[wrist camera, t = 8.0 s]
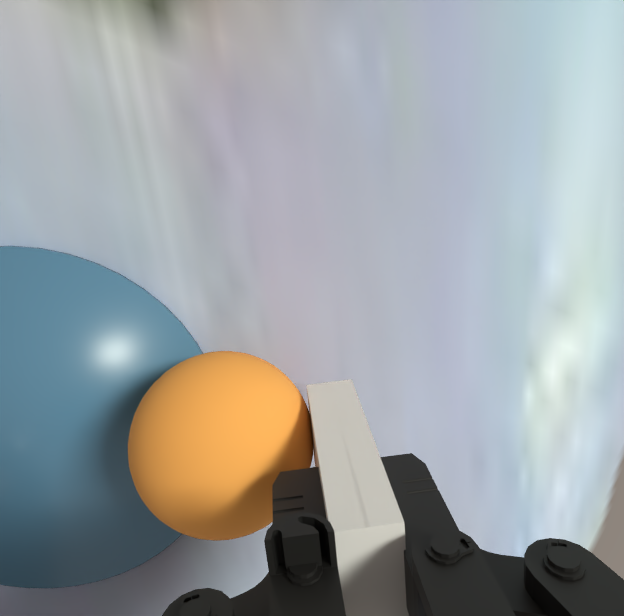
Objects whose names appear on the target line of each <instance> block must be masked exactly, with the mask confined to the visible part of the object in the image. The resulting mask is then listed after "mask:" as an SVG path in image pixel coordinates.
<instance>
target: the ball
mask: <svg viewBox="0 0 624 616" xmlns="http://www.w3.org/2000/svg"><path fill="white" fill-rule="evenodd" d="M312 456H313V434H312V426H311V418H310V414H309V411H308V408H307V406H306V403H305V401H304V399H303V397H302V396H301V394H300V392H299V391H298V389H297V388H296V387H295V385H294V384H293V383H292V382H291V380H290V379H289V378H288V377H287V376H286V375H285V374H284V373H283V372H281V371H280V370H279V369H278V368H276V367H275V366H274V365H272V364H270V363H268V362H267V361H265V360H262V359H260V358H258V357H255V356H253V355H249V354H246V353H240V352H232V351H217V352H209V353H204V354H200V355H197V356H194V357H191V358H189V359H186V360H184V361H182V362H180V363H179V364H177V365H175V366H174V367H172V368H171V369H169V370H168V371H166V372H165V373H164V374H163V375H162V376H161V377H160V378H159V379H158V380H157V381H155V382H154V383H153V385H152V386H151V387H150V389H149V390H148V391H147V392H146V394H145V395H144V397H143V398H142V400H141V402H140V404H139V406H138V408H137V410H136V412H135V415H134V417H133V420H132V424H131V427H130V433H129V439H128V461H129V468H130V472H131V476H132V479H133V482H134V485H135V487H136V490H137V492H138V494H139V496H140V497H141V499H142V501H143V502H144V503H145V505H146V506H147V507H148V509H149V510H150V511H151V512H152V513H153V514H154V515H155V516H156V517H157V518H158V519H159V520H160V521H162V522H163V523H164V524H166V525H168V526H169V527H171V528H172V529H174V530H176V531H178V532H180V533H182V534H185V535H187V536H191V537H194V538H198V539H205V540H216V541H217V540H229V539H235V538H239V537H243V536H246V535H249V534H252V533H254V532H256V531H258V530H260V529H262V528H264V527H266V526H267V525H269V524H270V523H271V522H273V505H272V502H273V500H272V485H273V483H274V482H275V480H276V478H277V476H278V475H279V473H280V472H282V471H290V470H298V469H306V468H310V466H311V461H312Z"/></svg>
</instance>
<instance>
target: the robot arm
mask: <svg viewBox="0 0 624 616" xmlns="http://www.w3.org/2000/svg"><path fill="white" fill-rule="evenodd" d="M307 394H308V403H309V412H310V418H311V426H312V434H313V450H314V459H315V466H316V467H313V468H306V469H298V470H290V471H282V472H280V473H279V475H278V476H277V478H276V480H275V482H274V483H273V485H272V500H273V502H272V505H273V524H272V526H271V527H270V528H269V529H268V530H267V533H266V537H265V540H264V541H265V548H266V555H267V562H268V568H269V572H268V574H267V575H266V577H265V578H264V579H263V580H262V581H261V582H260V583H259V584H258V585H256V586H255V587H254V588H252V589H250V590H249V591H247V592H245V593H243V594H240V595H238V596H236V597H233V598H231V599H230V598H229V597H228V596H226V595H225V594H224V593H223V592H222V591H219V590H215V589H211V588H206V589H196V590H193V591H191V592H188V593H186V594H184V595H182V596H180V597H179V598H178V599H176V600H175V601H174V602H173V603H171V604H170V605H169V607H168V608H167V609H166V611H165V612H164V613H163V615H162V616H624V580H623V579H622V578H621V577H620V576H618V575H617V574H616V573H615V572H614V571H612V570H611V569H610V568H609V567H608V566H607V565H605V564H604V563H603V562H602V561H601V560H599V559H598V558H597V557H596V556H595V555H593V554H592V553H591V552H589V551H588V550H586V549H585V548H583V547H581V546H580V545H578V544H575V543H572V542H569V541H566V540H562V539H552V538H549V539H543V540H537V541H536V542H534V543H533V544H531V545H530V546H528V548H527V550H526V553H525V555H524V558H523V557H514V556H506V555H499V554H494V553H490V552H487V551H484V550H482V549H479V547H478V545H477V544H476V543H475V542H474V541H473V539H472V538H471V537H469V536H468V535H466V534H464V533H463V532H461V531H459V529H458V527H457V525H456V523H455V521H454V519H453V518H452V516H451V514H450V512H449V510H448V508H447V506H446V504H445V502H444V500H443V498H442V496H441V494H440V492H439V490H438V489H437V486H436V484H435V482H434V480H432V476H431V474H430V472H429V470H428V468H427V466H426V464H425V463H424V462H422V461H421V460H420V459H418V458H417V457H416V456H414V455H413V454H412V453H411V454H403V455H395V456H387V457H380V455H379V452H378V450H377V447H376V444H375V441H374V439H373V436H372V433H371V431H370V428H369V425H368V423H367V420H366V417H365V414H364V412H363V409H362V406H361V404H360V401H359V398H358V396H357V393H356V390H355V387H354V385H353V382H352V379H351V380H343V381H335V382H326V383H318V384H310V385H307Z"/></svg>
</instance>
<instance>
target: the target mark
mask: <svg viewBox="0 0 624 616" xmlns="http://www.w3.org/2000/svg"><path fill="white" fill-rule="evenodd" d="M200 354H203V353H202V351H201V349H200V347H199V346H198V344H197V342H196V341H195V340H194V338H193V337H192V336H191V334H190V333H189V332H188V330H187V329H186V328H185V326H184V325H183V324H182V323H181V322H180V321H179V320H178V319H177V318H176V317H175V316H174V315H173V314H172V312H171V311H170V310H169V309H168V308H167V307H166V306H165V305H163V304H162V303H161V302H160V301H158V300H157V299H156V298H155V297H153V296H152V295H151V294H150V293H148V292H147V291H146V290H145V289H143V288H142V287H140V286H139V285H137V284H135V283H134V282H132V281H130V280H129V279H127V278H126V277H124V276H122V275H121V274H119V273H116V272H114V271H112V270H110V269H108V268H106V267H104V266H101V265H99V264H97V263H95V262H92V261H89V260H86V259H83V258H80V257H77V256H73V255H70V254H67V253H62V252H57V251H52V250H47V249H42V248H32V247H19V246H0V585H5V586H14V587H24V588H59V587H69V586H77V585H82V584H87V583H92V582H97V581H100V580H103V579H106V578H109V577H113V576H116V575H119V574H121V573H123V572H126V571H128V570H130V569H132V568H134V567H137V566H139V565H141V564H142V563H144V562H146V561H147V560H149V559H151V558H152V557H154V556H156V555H157V554H159V553H160V552H161V551H163V550H164V549H165V548H166V547H168V546H169V545H170V544H171V543H173V542H174V541H175V540H176V539H177V538H178V537H179V536H180V535H181V534H182V533H180V532H178V531H176V530H174V529H172V528H171V527H169V526H168V525H166V524H164V523H163V522H162V521H160V520H159V519H158V518H157V517H156V516H155V515H154V514H153V513H152V512H151V511H150V510H149V509H148V507H147V506H146V505H145V503H144V502H143V501H142V499H141V497H140V496H139V494H138V492H137V490H136V487H135V485H134V482H133V479H132V476H131V472H130V468H129V461H128V439H129V433H130V427H131V424H132V420H133V417H134V415H135V412H136V410H137V408H138V406H139V404H140V402H141V400H142V398H143V397H144V395H145V394H146V392H147V391H148V390H149V389H150V387H151V386H152V385H153V383H154V382H155V381H157V380H158V379H159V378H160V377H161V376H162V375H163V374H164V373H165V372H166V371H168V370H169V369H171V368H172V367H174V366H175V365H177V364H179V363H180V362H182V361H184V360H186V359H189V358H191V357H194V356H197V355H200Z"/></svg>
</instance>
